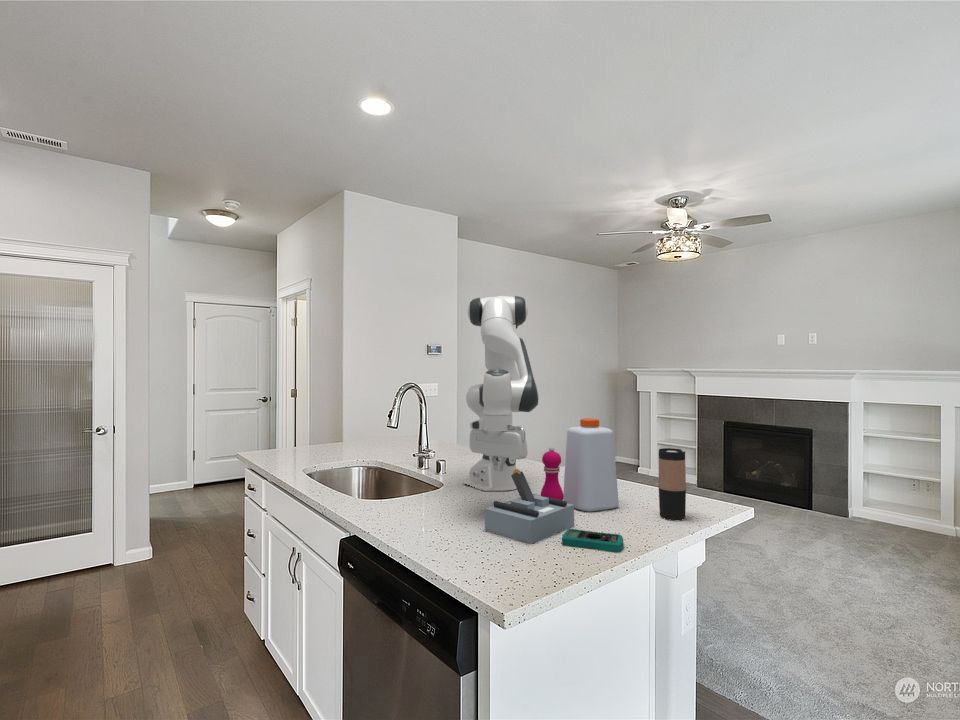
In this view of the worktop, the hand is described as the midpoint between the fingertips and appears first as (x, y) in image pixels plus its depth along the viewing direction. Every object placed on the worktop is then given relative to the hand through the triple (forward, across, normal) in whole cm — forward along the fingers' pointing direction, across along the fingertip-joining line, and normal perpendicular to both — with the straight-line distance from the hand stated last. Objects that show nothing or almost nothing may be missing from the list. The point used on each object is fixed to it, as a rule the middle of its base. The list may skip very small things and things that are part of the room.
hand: (497, 470), depth 149 cm
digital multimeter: (+15, -31, -1) cm, 35 cm away
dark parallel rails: (+8, -12, 0) cm, 15 cm away
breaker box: (+14, -12, 0) cm, 19 cm away
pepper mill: (+14, -6, -19) cm, 25 cm away
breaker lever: (+7, -12, 0) cm, 14 cm away
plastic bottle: (+14, -12, -32) cm, 37 cm away
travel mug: (+15, -37, -37) cm, 54 cm away
